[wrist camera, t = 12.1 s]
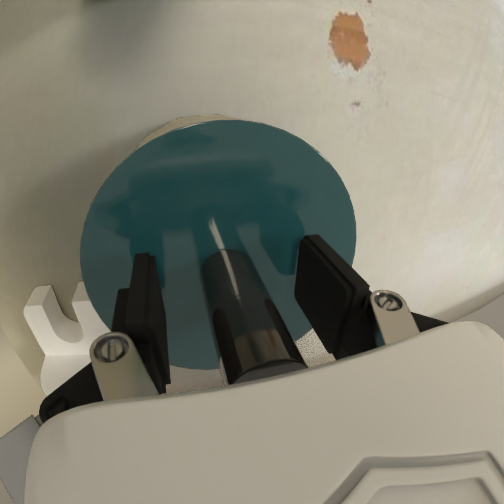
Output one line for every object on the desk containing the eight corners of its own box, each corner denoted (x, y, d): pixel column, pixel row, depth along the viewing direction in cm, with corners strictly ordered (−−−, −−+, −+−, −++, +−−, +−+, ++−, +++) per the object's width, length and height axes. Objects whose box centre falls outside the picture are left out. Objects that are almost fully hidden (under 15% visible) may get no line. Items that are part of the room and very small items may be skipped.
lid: (78, 344, 13) (61, 454, 7) (119, 79, 8) (52, 51, 3) (287, 368, 18) (328, 453, 12) (389, 181, 13) (493, 240, 8)
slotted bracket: (30, 287, 19) (-4, 356, 12) (103, 278, 20) (85, 355, 14) (82, 387, 25) (75, 449, 18) (141, 383, 26) (145, 450, 20)
